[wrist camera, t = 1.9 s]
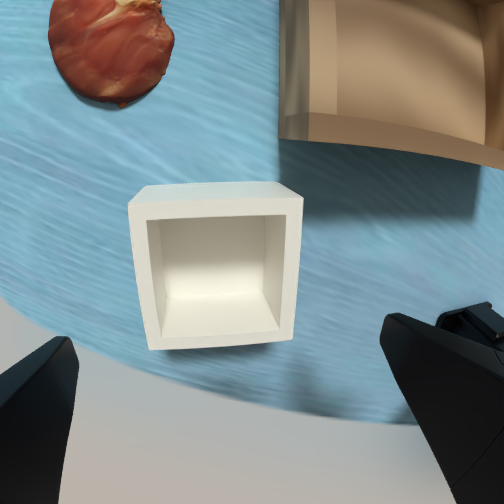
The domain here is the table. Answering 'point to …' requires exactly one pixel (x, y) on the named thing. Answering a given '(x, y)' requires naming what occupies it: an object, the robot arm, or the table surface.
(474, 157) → the walnut crate
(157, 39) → the steak
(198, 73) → the table surface
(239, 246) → the cream crate
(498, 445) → the robot arm
